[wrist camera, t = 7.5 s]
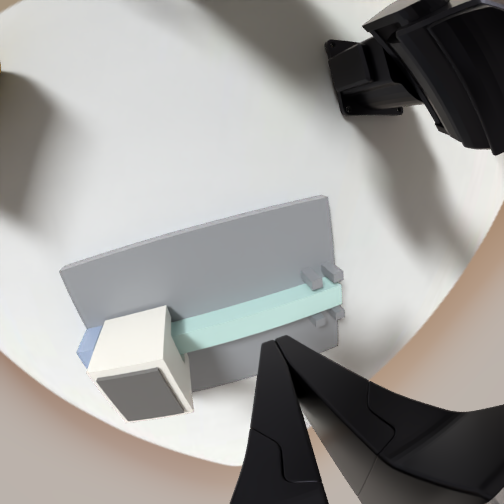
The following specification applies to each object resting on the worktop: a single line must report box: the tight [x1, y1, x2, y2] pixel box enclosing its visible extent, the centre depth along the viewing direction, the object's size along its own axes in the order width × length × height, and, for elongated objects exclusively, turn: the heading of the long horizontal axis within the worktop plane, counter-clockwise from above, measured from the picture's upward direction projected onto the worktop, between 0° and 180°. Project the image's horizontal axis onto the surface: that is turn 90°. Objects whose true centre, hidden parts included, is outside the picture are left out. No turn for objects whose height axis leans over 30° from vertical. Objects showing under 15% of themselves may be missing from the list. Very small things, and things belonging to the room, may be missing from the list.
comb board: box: [59, 195, 345, 392], centre depth 19 cm, size 20×14×4 cm
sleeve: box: [86, 305, 194, 423], centre depth 16 cm, size 5×5×6 cm
